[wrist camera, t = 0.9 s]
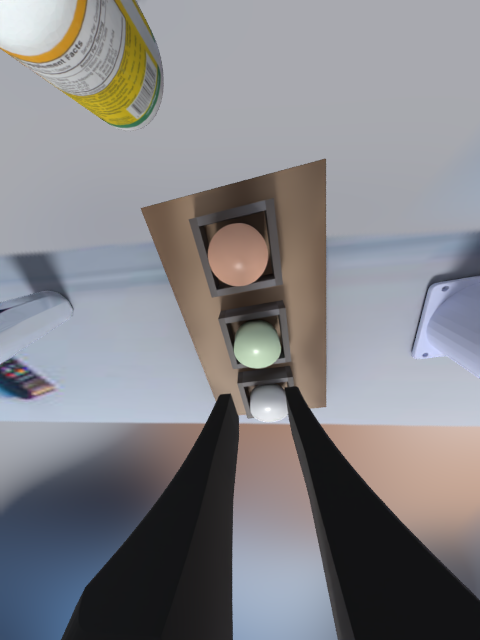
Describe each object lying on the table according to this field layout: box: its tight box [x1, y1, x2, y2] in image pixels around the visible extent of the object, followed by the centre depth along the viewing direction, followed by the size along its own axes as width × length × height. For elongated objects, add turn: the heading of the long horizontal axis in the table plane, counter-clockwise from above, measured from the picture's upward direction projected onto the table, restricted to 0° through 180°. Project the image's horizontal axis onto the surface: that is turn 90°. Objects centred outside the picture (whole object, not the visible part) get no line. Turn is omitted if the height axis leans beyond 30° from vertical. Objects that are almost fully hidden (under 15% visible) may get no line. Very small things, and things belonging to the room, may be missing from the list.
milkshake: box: [0, 290, 73, 365], centre depth 14 cm, size 5×5×10 cm
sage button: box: [234, 320, 281, 368], centre depth 15 cm, size 4×4×2 cm
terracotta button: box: [208, 223, 268, 286], centre depth 12 cm, size 4×4×2 cm
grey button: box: [250, 383, 288, 422], centre depth 18 cm, size 4×4×2 cm
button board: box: [141, 159, 326, 418], centre depth 17 cm, size 12×22×4 cm, turn 12°
